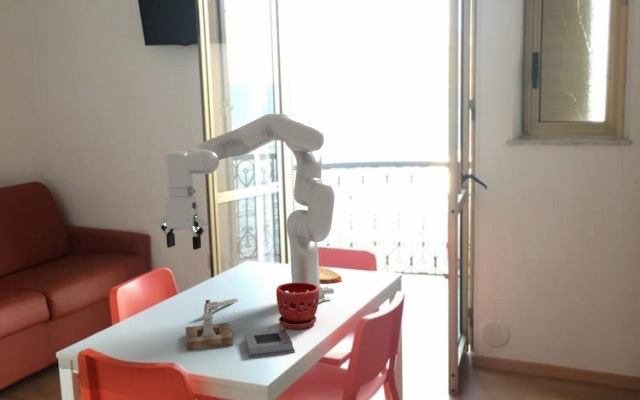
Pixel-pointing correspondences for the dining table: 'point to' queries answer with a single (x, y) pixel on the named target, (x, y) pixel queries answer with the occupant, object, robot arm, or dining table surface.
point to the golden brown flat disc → (328, 276)
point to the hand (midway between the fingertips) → (184, 247)
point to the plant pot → (297, 304)
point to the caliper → (216, 305)
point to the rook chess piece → (208, 325)
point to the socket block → (208, 337)
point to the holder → (267, 343)
